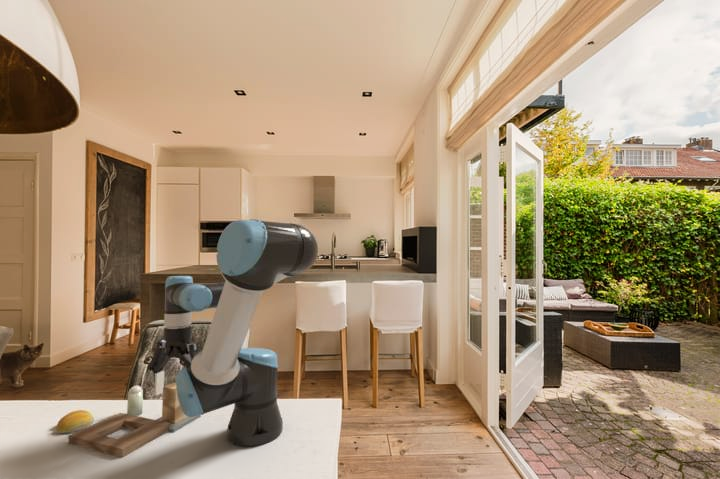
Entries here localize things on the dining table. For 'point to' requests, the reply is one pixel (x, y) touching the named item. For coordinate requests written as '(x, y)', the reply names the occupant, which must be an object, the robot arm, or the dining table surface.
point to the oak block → (171, 405)
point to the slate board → (180, 423)
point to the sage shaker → (135, 401)
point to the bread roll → (75, 421)
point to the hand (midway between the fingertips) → (175, 396)
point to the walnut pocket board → (99, 439)
